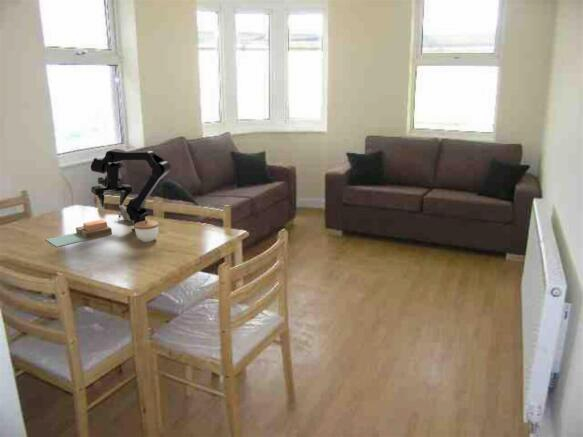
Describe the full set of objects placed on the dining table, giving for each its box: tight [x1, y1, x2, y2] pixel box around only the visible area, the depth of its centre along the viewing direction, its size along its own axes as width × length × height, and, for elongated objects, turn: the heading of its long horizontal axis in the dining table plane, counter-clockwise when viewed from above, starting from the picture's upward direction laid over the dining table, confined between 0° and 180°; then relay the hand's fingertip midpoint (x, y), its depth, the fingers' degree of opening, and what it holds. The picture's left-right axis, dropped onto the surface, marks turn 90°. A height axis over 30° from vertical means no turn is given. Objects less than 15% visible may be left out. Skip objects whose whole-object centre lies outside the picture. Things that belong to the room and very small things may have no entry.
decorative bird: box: [118, 204, 134, 223], centre depth 281 cm, size 5×16×7 cm, turn 43°
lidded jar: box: [133, 219, 159, 243], centre depth 250 cm, size 11×11×9 cm
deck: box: [75, 225, 113, 241], centre depth 260 cm, size 13×12×3 cm
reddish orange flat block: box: [83, 219, 108, 231], centre depth 260 cm, size 6×9×2 cm, turn 132°
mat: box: [45, 232, 88, 248], centre depth 252 cm, size 14×14×1 cm
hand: (111, 206), depth 266 cm, fingers open, 9 cm apart
